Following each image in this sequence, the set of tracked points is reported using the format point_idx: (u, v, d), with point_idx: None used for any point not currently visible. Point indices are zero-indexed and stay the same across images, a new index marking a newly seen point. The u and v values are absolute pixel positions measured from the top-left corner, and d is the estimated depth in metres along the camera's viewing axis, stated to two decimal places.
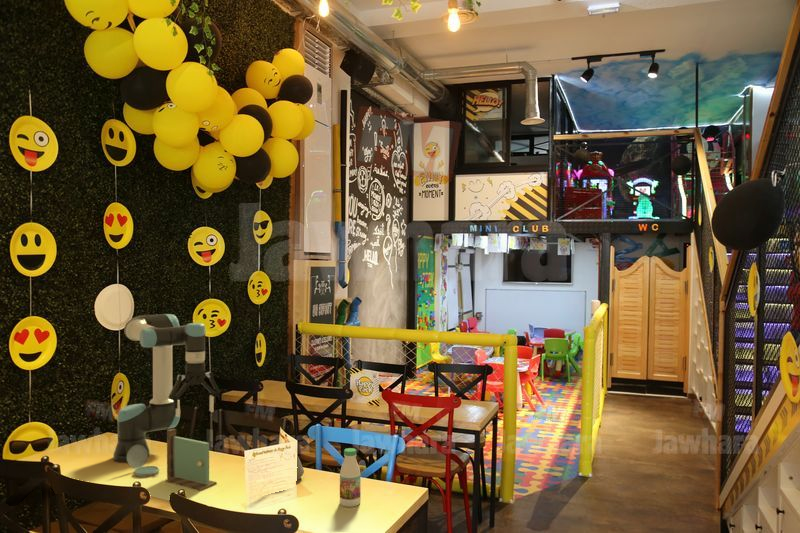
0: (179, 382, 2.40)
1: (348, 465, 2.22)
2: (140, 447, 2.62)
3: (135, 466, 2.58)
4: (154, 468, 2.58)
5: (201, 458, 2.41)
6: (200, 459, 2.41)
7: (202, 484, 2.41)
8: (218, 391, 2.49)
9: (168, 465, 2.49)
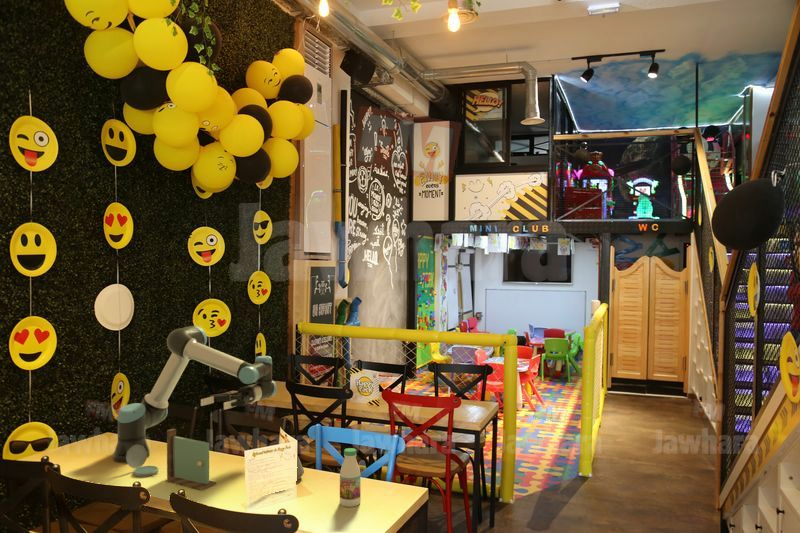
0: None
1: (348, 465, 2.22)
2: (139, 447, 2.62)
3: (134, 466, 2.58)
4: (153, 468, 2.58)
5: (201, 458, 2.41)
6: (200, 459, 2.41)
7: (202, 484, 2.41)
8: None
9: (168, 465, 2.49)
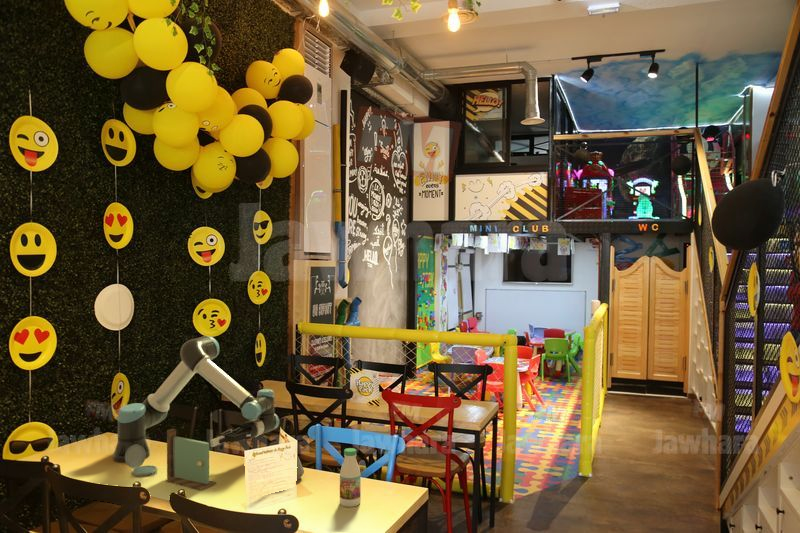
0: None
1: (348, 465, 2.22)
2: (138, 447, 2.62)
3: (133, 466, 2.58)
4: (152, 468, 2.58)
5: (201, 458, 2.41)
6: (200, 459, 2.41)
7: (202, 484, 2.41)
8: None
9: (168, 465, 2.49)
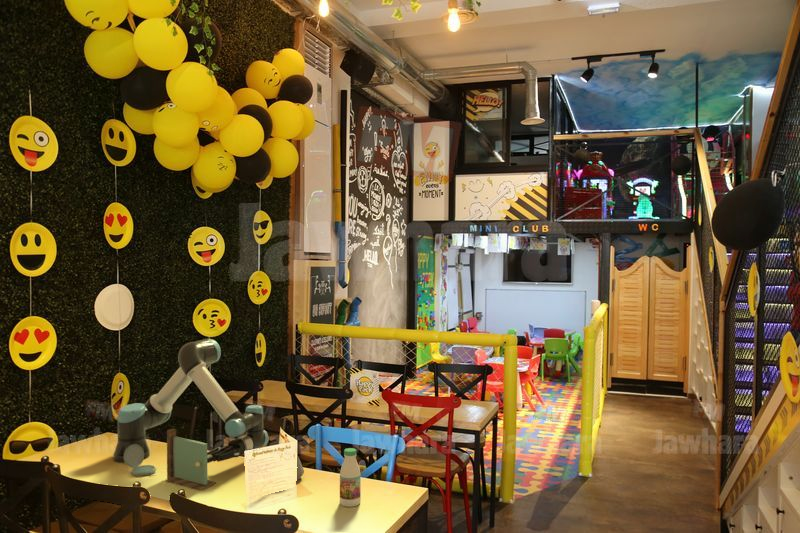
0: None
1: (348, 465, 2.22)
2: (137, 446, 2.63)
3: (132, 465, 2.59)
4: (151, 467, 2.59)
5: (199, 458, 2.40)
6: (198, 460, 2.41)
7: (202, 484, 2.41)
8: None
9: (168, 465, 2.49)
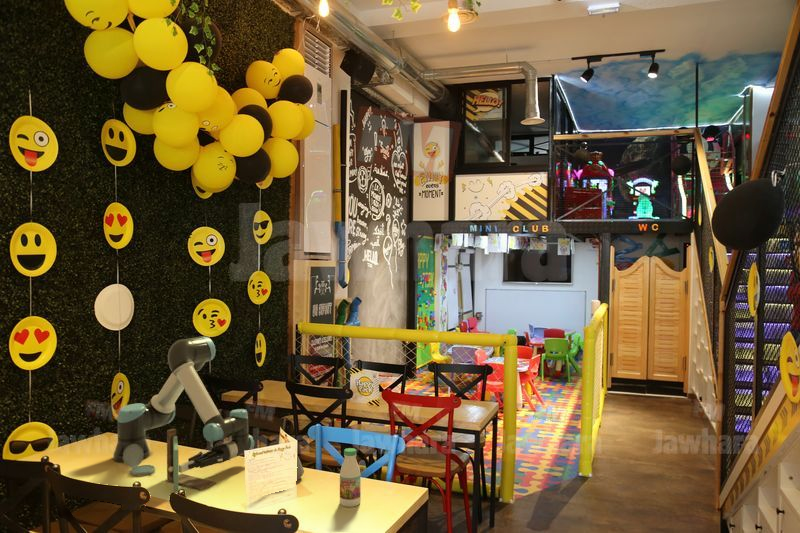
0: None
1: (348, 465, 2.22)
2: (136, 446, 2.63)
3: (131, 465, 2.59)
4: (150, 467, 2.59)
5: None
6: None
7: (202, 484, 2.41)
8: None
9: (168, 465, 2.49)
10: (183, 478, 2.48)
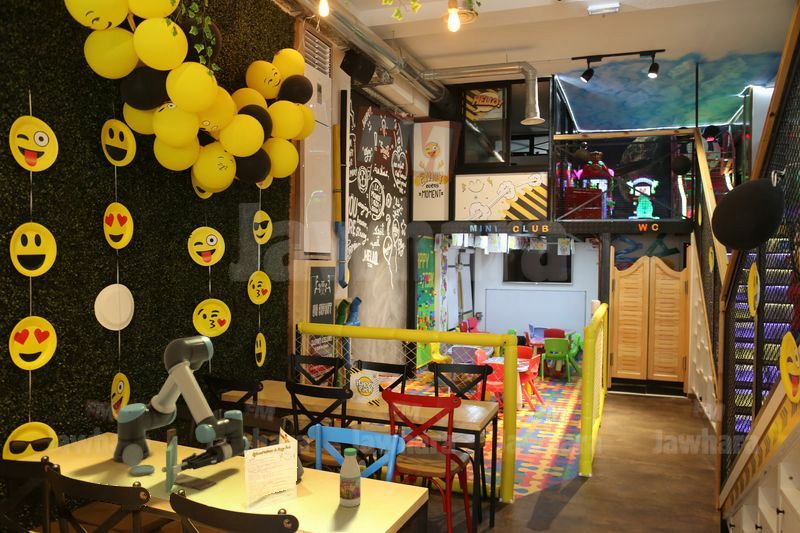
0: None
1: (348, 465, 2.22)
2: (136, 446, 2.63)
3: (131, 465, 2.59)
4: (150, 467, 2.59)
5: None
6: None
7: (202, 484, 2.41)
8: None
9: None
10: (183, 478, 2.48)
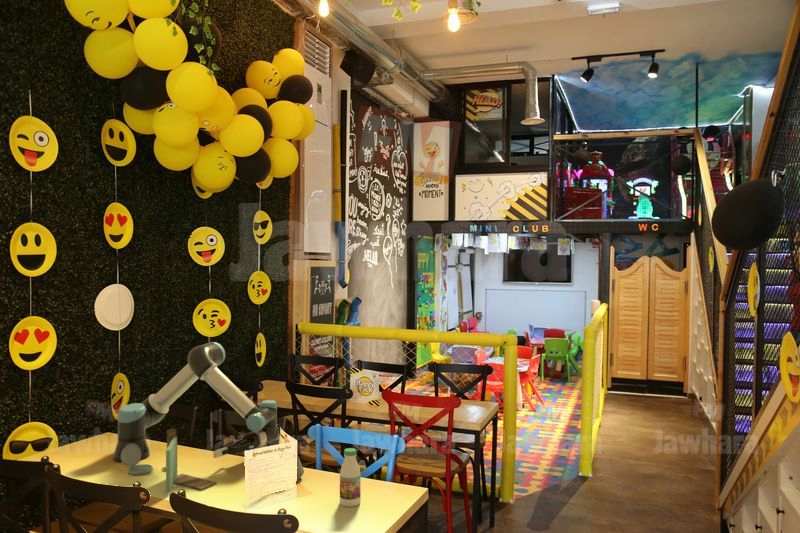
0: None
1: (348, 465, 2.22)
2: (134, 446, 2.64)
3: (129, 464, 2.60)
4: (148, 466, 2.60)
5: None
6: None
7: (202, 484, 2.41)
8: None
9: None
10: (183, 478, 2.48)
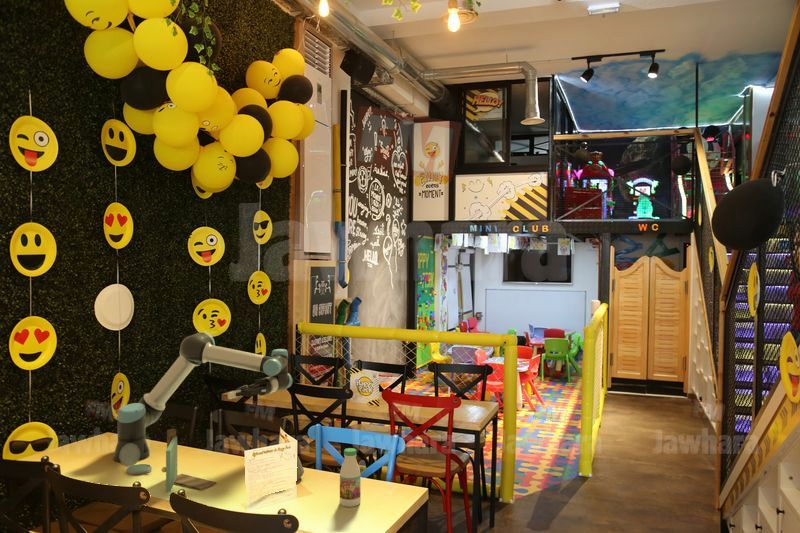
0: (259, 393, 2.70)
1: (348, 465, 2.22)
2: (133, 445, 2.64)
3: (128, 464, 2.60)
4: (147, 466, 2.60)
5: None
6: None
7: (202, 484, 2.41)
8: None
9: None
10: (183, 478, 2.48)
